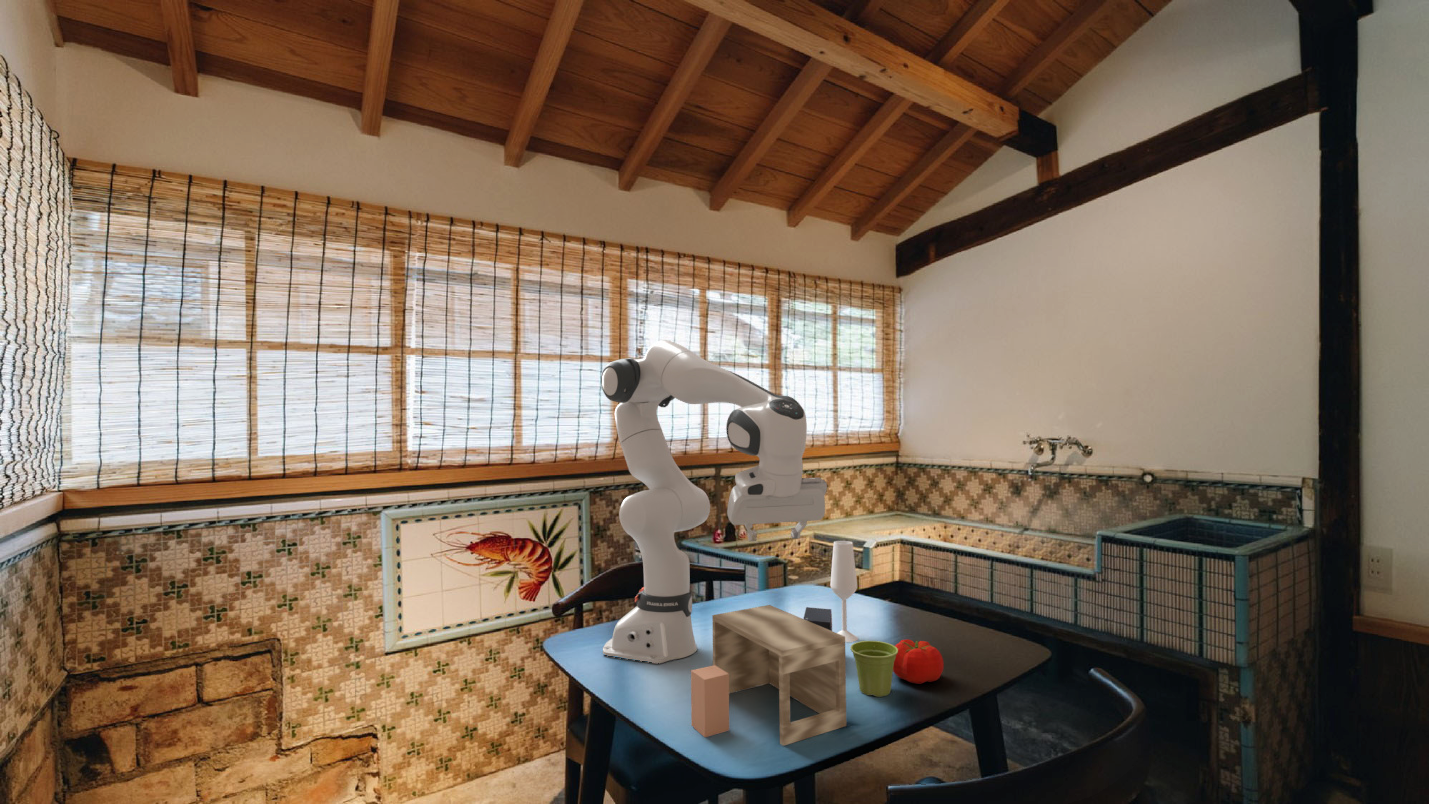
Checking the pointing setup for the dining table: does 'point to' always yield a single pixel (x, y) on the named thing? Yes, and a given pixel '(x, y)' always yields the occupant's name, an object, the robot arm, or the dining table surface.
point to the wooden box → (785, 665)
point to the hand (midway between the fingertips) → (773, 538)
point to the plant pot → (874, 666)
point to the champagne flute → (844, 580)
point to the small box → (819, 617)
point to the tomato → (917, 662)
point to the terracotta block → (710, 700)
